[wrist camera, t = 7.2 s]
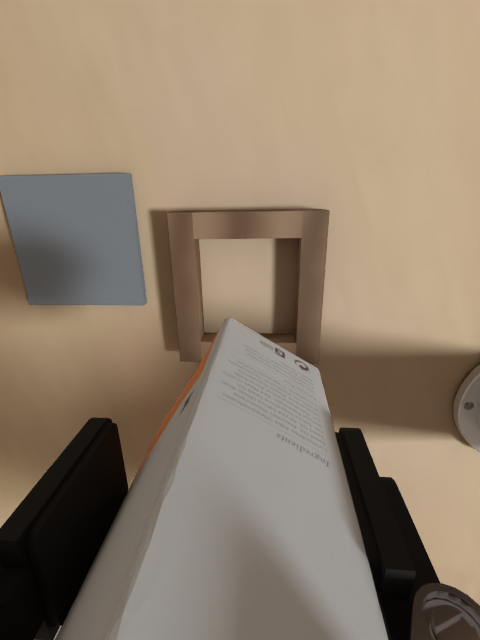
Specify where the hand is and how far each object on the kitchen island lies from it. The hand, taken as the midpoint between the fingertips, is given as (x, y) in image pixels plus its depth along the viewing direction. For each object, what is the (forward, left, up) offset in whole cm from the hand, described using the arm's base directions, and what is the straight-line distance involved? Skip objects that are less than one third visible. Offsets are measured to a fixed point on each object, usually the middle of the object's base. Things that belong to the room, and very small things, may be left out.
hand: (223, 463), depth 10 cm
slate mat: (+15, -4, -21) cm, 26 cm away
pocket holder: (0, 0, -21) cm, 21 cm away
